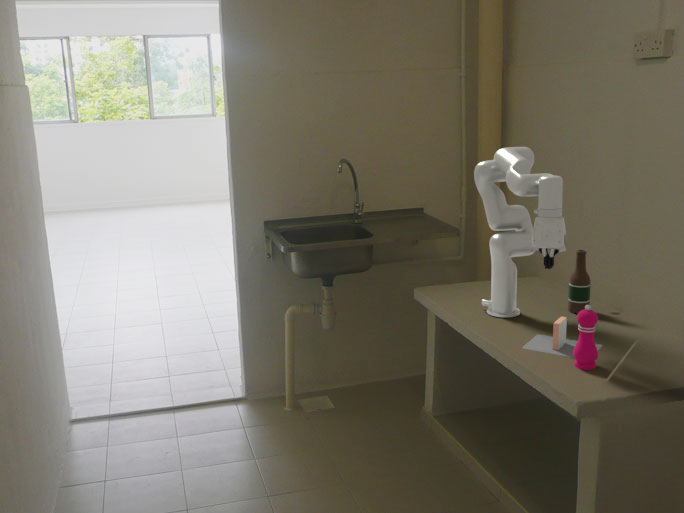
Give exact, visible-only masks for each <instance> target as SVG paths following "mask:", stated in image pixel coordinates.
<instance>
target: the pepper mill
mask: <svg viewBox="0 0 684 513" xmlns="http://www.w3.org/2000/svg"><path fill="white" fill-rule="evenodd" d="M576 315H577V316H576V321H577V323H578V328H577V330H578V331H579V335H578V340H577V341H578V342H577V344H576V345H575V347H574V350H573V356H574V358H573V359H575V360H574V363H573V366H574V367H575V368H577V369H580V370H584V371H587V370H588V371H589V370H594V369H596V367H597V362H596V360H597V359H598V357H599V350H597V347H596V345H595V344H596V342H595V336H594V334H595V331H596V330H597V329H596V328H597V327H596V324H597V323H598V322H599V318H598V317H599V316H598V313H597V312H596V311H594V310H593V309H592V306H591V305H586V306H585V309H584V310H581V311H580V312H579V313H578V314H576Z"/></svg>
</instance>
